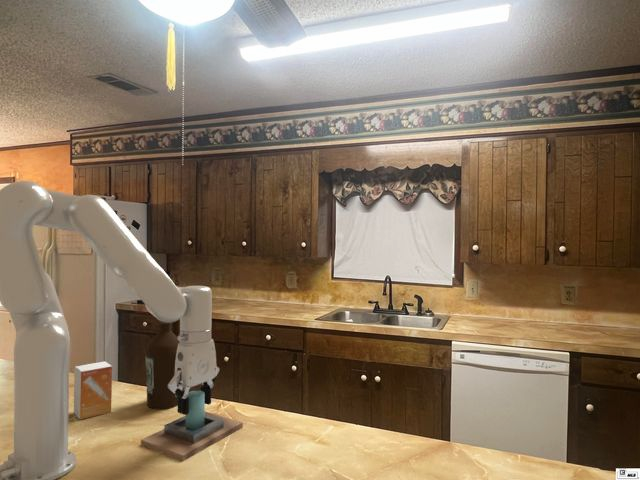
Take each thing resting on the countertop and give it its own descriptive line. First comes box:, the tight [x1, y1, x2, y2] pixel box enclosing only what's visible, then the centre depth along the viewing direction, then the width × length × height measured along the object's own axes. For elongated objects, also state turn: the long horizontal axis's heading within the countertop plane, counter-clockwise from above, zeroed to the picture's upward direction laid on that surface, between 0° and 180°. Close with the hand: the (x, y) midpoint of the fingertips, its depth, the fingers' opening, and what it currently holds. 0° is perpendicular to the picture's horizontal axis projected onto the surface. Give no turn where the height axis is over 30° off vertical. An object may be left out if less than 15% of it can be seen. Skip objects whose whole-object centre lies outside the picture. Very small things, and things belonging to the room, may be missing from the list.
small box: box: [73, 361, 113, 420], centre depth 119 cm, size 8×6×13 cm
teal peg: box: [185, 390, 206, 431], centre depth 106 cm, size 4×4×9 cm
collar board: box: [140, 410, 244, 462], centre depth 106 cm, size 20×14×3 cm
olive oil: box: [144, 320, 180, 410], centre depth 126 cm, size 11×11×25 cm
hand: (194, 407), depth 106 cm, fingers open, 6 cm apart
